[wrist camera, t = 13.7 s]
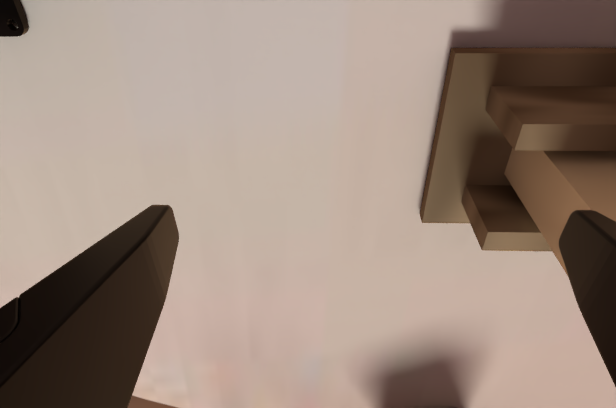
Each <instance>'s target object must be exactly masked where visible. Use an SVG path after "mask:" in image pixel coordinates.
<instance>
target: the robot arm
mask: <svg viewBox="0 0 616 408" xmlns="http://www.w3.org/2000/svg"><path fill="white" fill-rule="evenodd" d="M12 20H14V21H15V22H16V23H17V24H18V28H16V27H15V26H14V25H13V24H12ZM28 29H29V25H28V22H27V19H26V16H25V14H24V11H23V9H22V6H21V4H20V1H19V0H0V36H21V35H23V34H25V33H26V32H27V31H28ZM178 242H179V233H178V229H177V225H176V221H175V217H174V213H173V210H172V208H171V207H170V206H169V205H151V206H150V207H148V208H147V209H145V210H144V211H142V212H141V213H139V214H138V215H136V216H135V217H133V218H132V219H131V220H129V221H128V222H126V223H125V224H123V225H122V226H120V227H119V228H117V229H116V230H114V231H113V232H111V233H110V234H109V235H107V236H106V237H104V238H103V239H101V240H100V241H98V242H97V243H95V244H94V245H92V246H91V247H89V248H88V249H87V250H85V251H84V252H82V253H81V254H79V255H78V256H76V257H75V258H73V259H72V260H70V261H69V262H67V263H66V264H65V265H63V266H62V267H60V268H59V269H57V270H56V271H54V272H53V273H51V274H50V275H48V276H47V277H45V278H44V279H42V280H41V281H40V282H38V283H37V284H35V285H34V286H32V287H31V288H29V289H28V290H26V291H25V292H23V293H22V294H21V295H20V296H19V298H18V297H16V298H14V299H13V300H12V301H10V302H9V303H7V304H6V305H4V306H3V307H1V308H0V408H127V407H128V405H129V402H130V399H131V396H132V393H133V391H134V388H135V385H136V382H137V379H138V376H139V374H140V371H141V368H142V365H143V362H144V359H145V357H146V354H147V351H148V348H149V345H150V343H151V340H152V337H153V334H154V331H155V328H156V326H157V323H158V320H159V317H160V314H161V311H162V309H163V305H164V302H165V299H166V295H167V291H168V287H169V283H170V278H171V274H172V269H173V264H174V260H175V255H176V251H177V246H178ZM559 250H560V253H561V256H562V259H563V262H564V265H565V268H566V271H567V274H568V277H569V280H570V283H571V286H572V289H573V292H574V295H575V298H576V301H577V303H578V306H579V308H580V311H581V313H582V315H583V318H584V320H585V322H586V324H587V326H588V328H589V331H590V333H591V335H592V337H593V339H594V341H595V343H596V346H597V348H598V350H599V352H600V354H601V356H602V359H603V361H604V363H605V365H606V367H607V369H608V371H609V374H610V376H611V378H612V380H613V382H614V384H615V387H616V221H614V220H612V219H610V218H608V217H606V216H604V215H602V214H601V213H599V212H597V211H594V210H575V211H573V212H572V213H571V214H570V216H569V218H568V220H567V222H566V224H565V227H564V229H563V231H562V233H561V235H560V238H559Z"/></svg>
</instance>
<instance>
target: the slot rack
mask: <svg viewBox="0 0 616 408" xmlns="http://www.w3.org/2000/svg"><path fill="white" fill-rule="evenodd" d="M512 148H513V149H514V150H531V151H616V48H451V52H450V57H449V63H448V68H447V73H446V79H445V84H444V89H443V94H442V100H441V105H440V110H439V116H438V121H437V126H436V131H435V137H434V142H433V147H432V153H431V158H430V163H429V168H428V174H427V179H426V184H425V190H424V195H423V200H422V205H421V211H420V217H421V220H422V223H470V224H471V226H472V228H473V230H474V233H475V235H476V237H477V240H478V242H479V244H480V247H481V249H482V250H496V251H552V250H551V248H550V246H549V245H548V243H547V241H546V240H545V238H544V237H543V235H542V233H541V232H540V230H539V229H538V227H537V225H536V224H535V222H534V221H533V219H532V217H531V216H530V214H529V213H528V211H527V209H526V208H525V206H524V205H523V203H522V201H521V200H520V198H519V197H518V195H517V193H516V192H515V190H514V189H513V187H512V185H511V184H510V182H509V180H508V179H507V177H506V176H505V174H504V173H505V170H506V167H507V163H508V160H509V157H510V154H511V151H512Z"/></svg>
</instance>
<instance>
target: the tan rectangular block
mask: <svg viewBox="0 0 616 408" xmlns="http://www.w3.org/2000/svg"><path fill="white" fill-rule="evenodd" d="M504 174H505V176H506V177H507V179H508V180H509V182H510V184H511V185H512V187H513V189H514V190H515V192H516V193H517V195H518V197H519V198H520V200H521V201H522V203H523V205H524V206H525V208H526V209H527V211H528V213H529V214H530V216H531V217H532V219H533V221H534V222H535V224H536V225H537V227H538V229H539V230H540V232H541V233H542V235H543V237H544V238H545V240H546V241H547V243H548V245H549V246H550V248H551V250H552V251H553V253H554V254H555V256H556V258H557V259H558V261H559V262H560V264H561V266H562V267H563V269H564V270H565V272H566V274H567V271H566V268H565V265H564V262H563V259H562V256H561V253H560V250H559V238H560V235H561V233H562V231H563V229H564V227H565V224H566V222H567V220H568V218H569V216H570V214H571V213H572V212H573V211H575V210H594V211H597V212H599V213H601V214H602V215H604V216H606V217H608V218H610V219H612V220H614V221H616V151H531V150H514V149H513V148H512V151H511V154H510V157H509V160H508V163H507V167H506V170H505V173H504ZM567 275H568V274H567Z"/></svg>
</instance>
